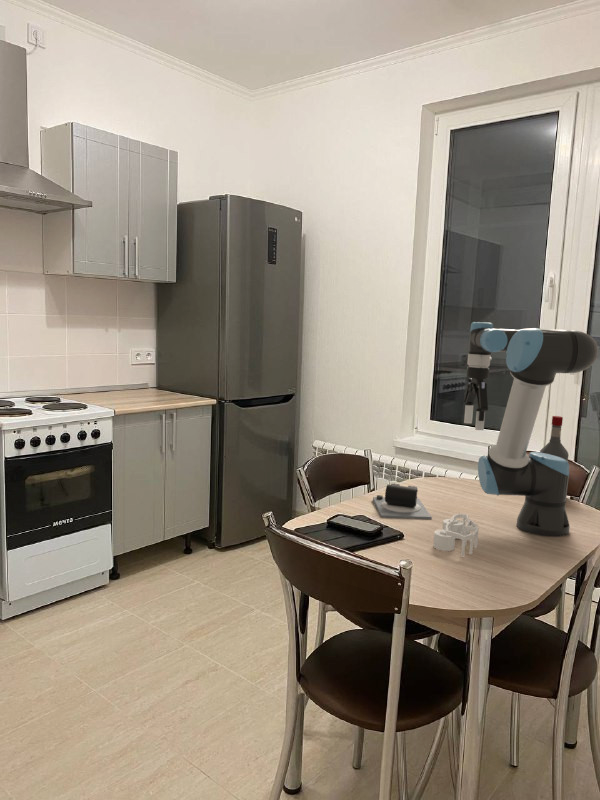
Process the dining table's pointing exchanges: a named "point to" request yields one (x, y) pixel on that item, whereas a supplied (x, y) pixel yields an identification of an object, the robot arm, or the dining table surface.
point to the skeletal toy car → (456, 534)
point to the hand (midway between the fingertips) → (473, 426)
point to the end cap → (401, 495)
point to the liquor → (555, 440)
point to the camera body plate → (400, 510)
